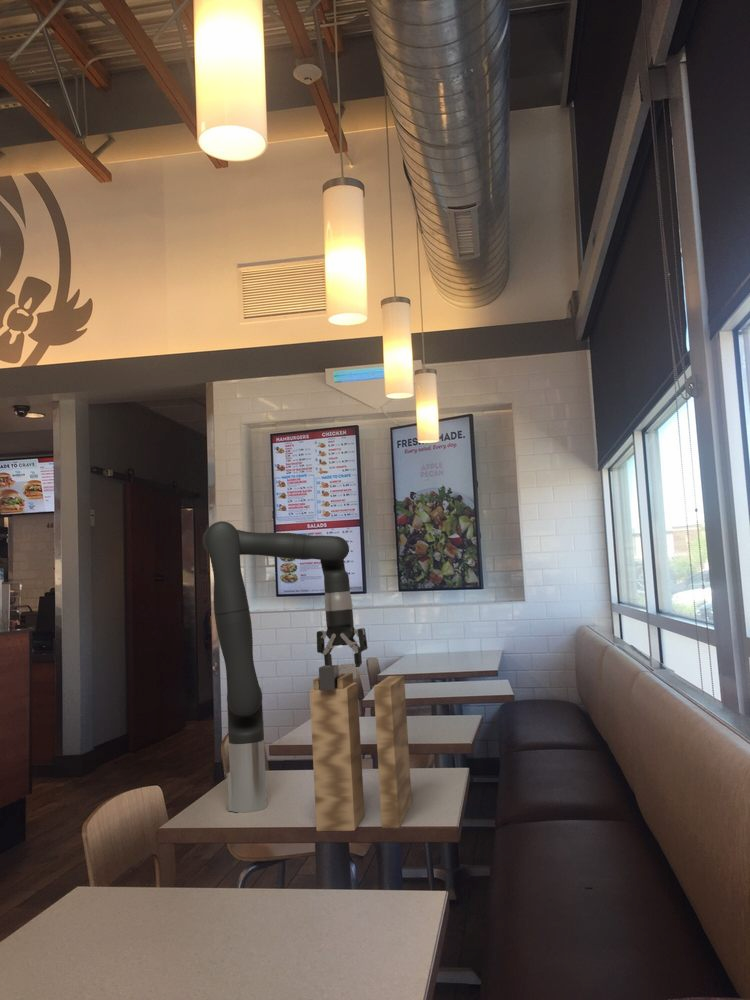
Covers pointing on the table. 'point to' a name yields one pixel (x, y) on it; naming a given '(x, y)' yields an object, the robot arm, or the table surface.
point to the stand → (358, 754)
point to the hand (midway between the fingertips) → (343, 667)
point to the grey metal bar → (334, 675)
